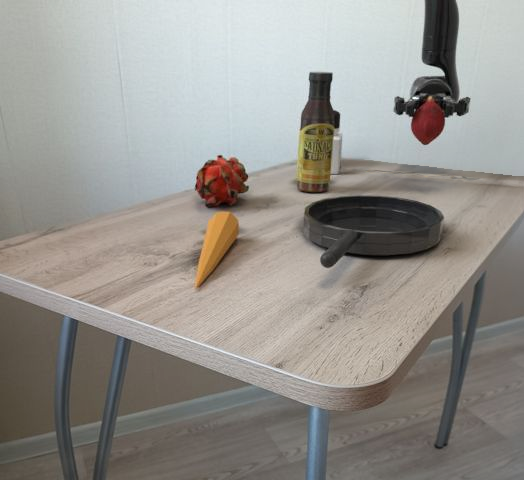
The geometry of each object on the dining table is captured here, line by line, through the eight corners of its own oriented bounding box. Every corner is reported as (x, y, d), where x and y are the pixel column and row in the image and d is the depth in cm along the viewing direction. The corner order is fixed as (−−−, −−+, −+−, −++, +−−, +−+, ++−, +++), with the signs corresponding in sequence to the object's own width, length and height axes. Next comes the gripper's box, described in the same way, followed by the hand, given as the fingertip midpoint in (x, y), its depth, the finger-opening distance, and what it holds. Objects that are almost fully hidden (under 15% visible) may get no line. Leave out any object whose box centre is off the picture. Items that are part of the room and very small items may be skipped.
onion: (447, 147, 97) (453, 97, 93) (414, 148, 97) (420, 98, 93) (435, 141, 102) (441, 94, 98) (404, 143, 102) (409, 95, 98)
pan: (449, 225, 83) (452, 202, 82) (426, 268, 68) (430, 240, 66) (328, 212, 90) (329, 190, 89) (283, 247, 75) (283, 222, 73)
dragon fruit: (245, 204, 101) (210, 231, 92) (209, 173, 101) (171, 198, 92) (266, 169, 95) (231, 195, 86) (229, 136, 94) (190, 159, 86)
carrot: (219, 241, 80) (205, 213, 78) (247, 230, 79) (233, 202, 76) (186, 312, 64) (168, 279, 62) (220, 301, 62) (203, 267, 60)
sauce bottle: (300, 194, 100) (303, 73, 91) (293, 186, 106) (295, 71, 96) (334, 193, 101) (342, 72, 92) (326, 185, 107) (332, 70, 97)
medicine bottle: (340, 167, 121) (344, 108, 115) (338, 174, 115) (342, 112, 109) (308, 166, 122) (310, 108, 116) (304, 173, 116) (306, 112, 110)
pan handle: (345, 240, 71) (346, 227, 70) (359, 242, 70) (360, 228, 69) (317, 268, 62) (318, 253, 62) (332, 271, 62) (333, 255, 61)
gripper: (396, 79, 108) (388, 86, 94) (474, 79, 105) (477, 86, 91) (393, 120, 112) (384, 132, 98) (467, 122, 108) (469, 135, 94)
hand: (429, 110), depth 94 cm, fingers closed on onion, 5 cm apart
